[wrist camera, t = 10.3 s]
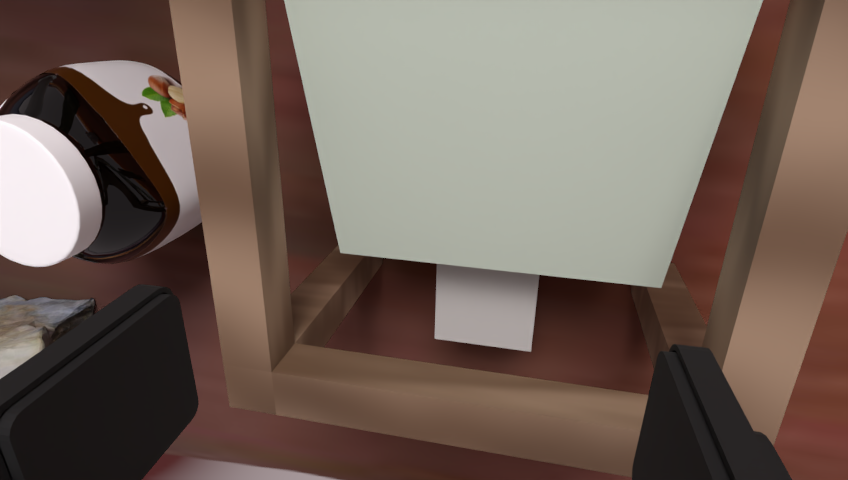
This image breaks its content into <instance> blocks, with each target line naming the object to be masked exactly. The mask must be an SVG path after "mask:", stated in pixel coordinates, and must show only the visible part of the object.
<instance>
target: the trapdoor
mask: <svg viewBox="0 0 848 480" xmlns="http://www.w3.org/2000/svg"><path fill="white" fill-rule="evenodd" d="M762 1H763V0H284V2H285V6H286V11H287V15H288V20H289V24H290V29H291V33H292V38H293V42H294V47H295V51H296V56H297V60H298V65H299V69H300V74H301V78H302V83H303V87H304V92H305V96H306V101H307V105H308V110H309V114H310V119H311V123H312V128H313V132H314V137H315V141H316V146H317V150H318V155H319V159H320V164H321V168H322V173H323V177H324V182H325V186H326V191H327V195H328V200H329V204H330V209H331V213H332V218H333V222H334V227H335V231H336V236H337V240H338V245H339V249H340V253H345V254H354V255H363V256H372V257H381V258H390V259H400V260H409V261H418V262H427V263H436V264H445V265H454V266H464V267H473V268H482V269H491V270H500V271H509V272H518V273H528V274H537V275H546V276H555V277H564V278H573V279H582V280H592V281H601V282H610V283H619V284H628V285H637V286H646V287H656V288H661V287H662V284H663V282H664V279H665V276H666V273H667V270H668V268H669V265H670V262H671V259H672V256H673V253H674V251H675V248H676V245H677V242H678V239H679V236H680V234H681V231H682V228H683V225H684V222H685V219H686V217H687V214H688V211H689V208H690V205H691V202H692V200H693V197H694V194H695V191H696V188H697V185H698V183H699V180H700V177H701V174H702V171H703V168H704V166H705V163H706V160H707V157H708V154H709V151H710V149H711V146H712V143H713V140H714V137H715V134H716V132H717V129H718V126H719V123H720V120H721V117H722V115H723V112H724V109H725V106H726V103H727V101H728V98H729V95H730V92H731V89H732V86H733V84H734V81H735V78H736V75H737V72H738V69H739V67H740V64H741V61H742V58H743V55H744V52H745V50H746V47H747V44H748V41H749V38H750V35H751V33H752V30H753V27H754V24H755V21H756V18H757V16H758V13H759V10H760V7H761V4H762Z"/></svg>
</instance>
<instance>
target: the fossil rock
mask: <svg viewBox="0 0 848 480" xmlns="http://www.w3.org/2000/svg"><path fill="white" fill-rule="evenodd" d="M94 306H95V301H94V298H91V299H88V300H78V301H77V300H65V299H64V300H57V299H50V298H46V297H40V298H36V299H31V300H29V301H28V300H25V299H23V298H21V297H19V296H17V295H14V296H9V297H7V298H4V299H0V379H1V378H2V377H4V376H5V375H7V374H8V373H10V372H11V371H13V370H14V369H15V368H17V367H18V366H20V365H21V364H23V363H24V362H26V361H27V360H29V359H30V358H31V357H33V356H34V355H36V354H37V353H39V352H40V351H42V350H43V349H44V348H46V347H47V346H49V345H50V344H52V343H53V342H55V341H56V340H58V339H59V338H60V337H62V336H63V335H65V334H66V333H68V332H69V331H71V330H72V329H74V327H75V326H77V325H79V324H81V323H82V322H84V321H85V320H87V319H88V318H89V317H91V316H92V315H93V311H94Z"/></svg>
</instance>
